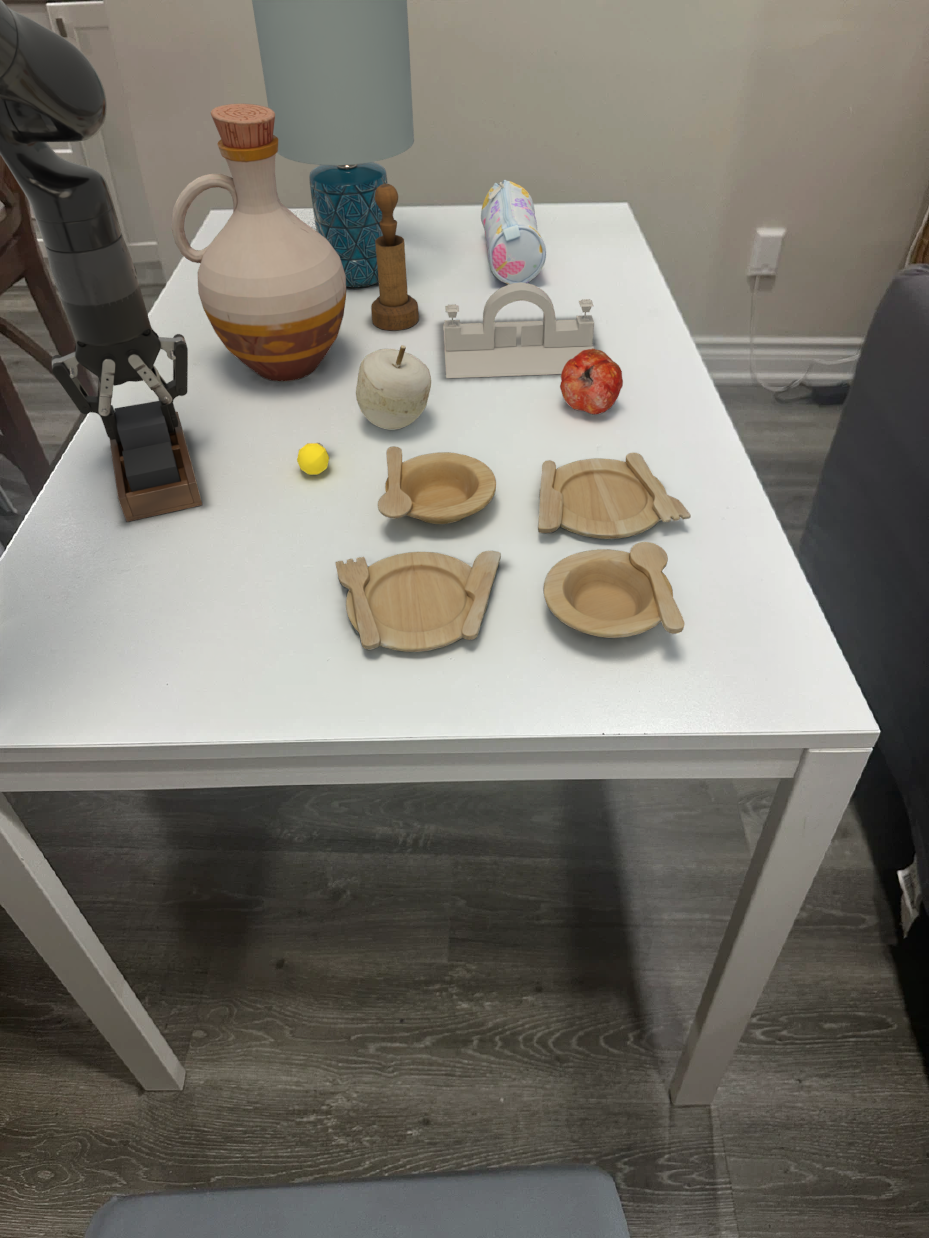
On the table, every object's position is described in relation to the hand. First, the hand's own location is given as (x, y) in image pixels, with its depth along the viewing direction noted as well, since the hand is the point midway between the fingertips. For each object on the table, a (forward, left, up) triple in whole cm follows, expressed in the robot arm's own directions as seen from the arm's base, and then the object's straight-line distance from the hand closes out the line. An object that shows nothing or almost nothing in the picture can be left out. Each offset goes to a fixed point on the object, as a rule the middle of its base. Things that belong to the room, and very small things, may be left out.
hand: (145, 434), depth 97 cm
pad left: (0, -7, -3) cm, 8 cm away
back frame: (0, -3, -3) cm, 5 cm away
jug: (+18, +16, -3) cm, 24 cm away
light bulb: (+17, -8, -3) cm, 19 cm away
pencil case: (+59, +35, -3) cm, 68 cm away
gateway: (+49, +9, -3) cm, 50 cm away
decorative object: (+28, -3, -3) cm, 28 cm away
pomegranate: (+51, -8, -3) cm, 52 cm away
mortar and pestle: (+36, +23, -3) cm, 43 cm away
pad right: (0, 0, -2) cm, 2 cm away
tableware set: (+32, -31, -3) cm, 45 cm away
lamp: (+35, +39, -3) cm, 52 cm away
